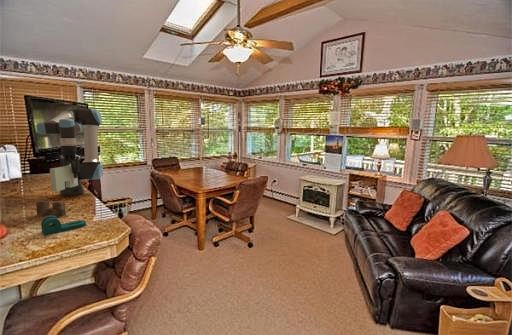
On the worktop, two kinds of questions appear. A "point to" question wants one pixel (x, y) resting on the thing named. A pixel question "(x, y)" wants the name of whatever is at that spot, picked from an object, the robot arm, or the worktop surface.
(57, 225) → the bracket
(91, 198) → the worktop surface
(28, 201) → the worktop surface
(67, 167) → the sage slotted plate
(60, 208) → the walnut slotted plate
